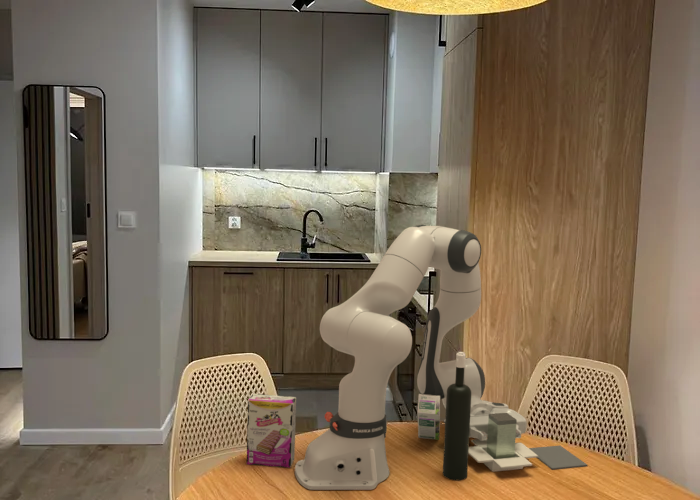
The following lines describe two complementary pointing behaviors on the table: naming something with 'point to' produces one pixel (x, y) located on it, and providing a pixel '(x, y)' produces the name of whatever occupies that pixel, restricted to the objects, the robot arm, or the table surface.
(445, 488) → the table surface
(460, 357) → the wine bottle
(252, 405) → the candy bar box
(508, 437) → the tea tin
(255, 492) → the table surface
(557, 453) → the mat
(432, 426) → the syrup box
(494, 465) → the carton
